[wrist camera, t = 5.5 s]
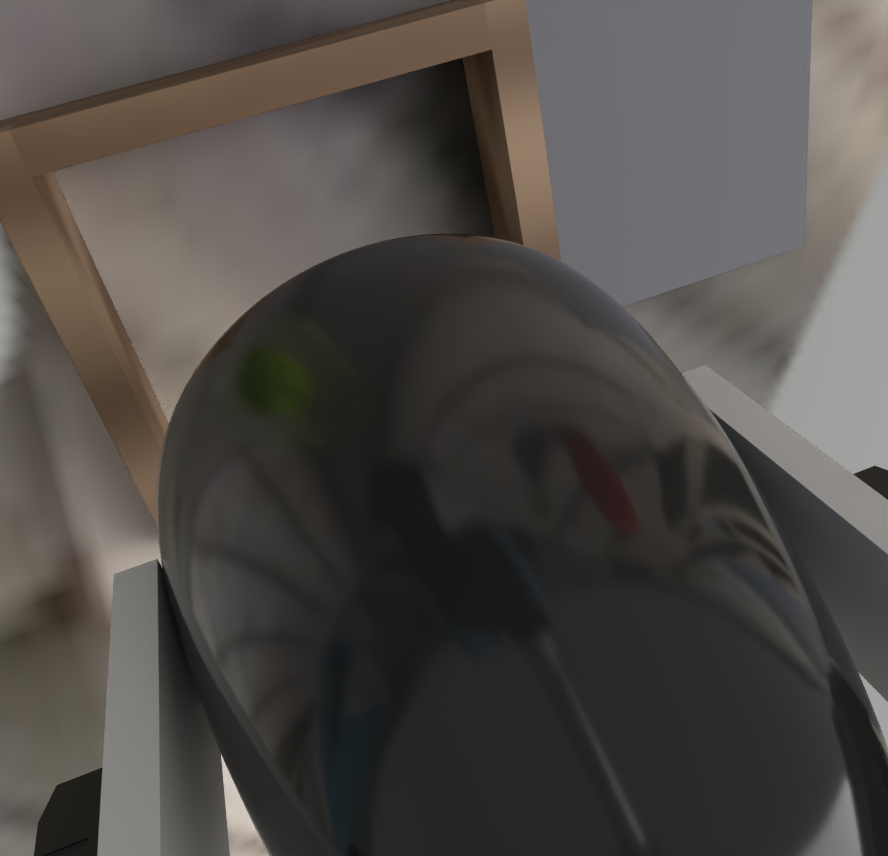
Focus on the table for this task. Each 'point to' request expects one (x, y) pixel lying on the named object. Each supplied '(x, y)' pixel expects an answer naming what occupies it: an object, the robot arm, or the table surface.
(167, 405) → the table surface
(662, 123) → the rubber mat
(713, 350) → the table surface
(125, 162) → the table surface
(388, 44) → the frame
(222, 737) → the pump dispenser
